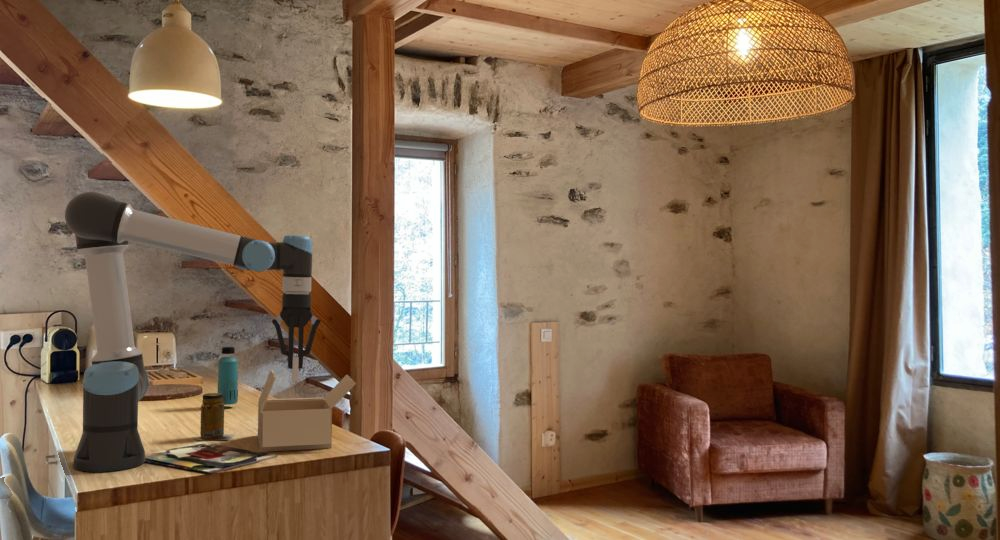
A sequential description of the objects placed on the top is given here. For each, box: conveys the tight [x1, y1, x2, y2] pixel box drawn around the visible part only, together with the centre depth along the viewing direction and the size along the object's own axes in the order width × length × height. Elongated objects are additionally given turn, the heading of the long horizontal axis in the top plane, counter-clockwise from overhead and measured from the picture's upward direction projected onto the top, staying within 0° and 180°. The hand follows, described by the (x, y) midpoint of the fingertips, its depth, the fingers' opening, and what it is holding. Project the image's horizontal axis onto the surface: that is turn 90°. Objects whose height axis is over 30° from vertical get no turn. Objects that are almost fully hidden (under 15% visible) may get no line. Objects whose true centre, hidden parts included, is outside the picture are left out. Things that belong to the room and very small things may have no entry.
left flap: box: [258, 368, 276, 411], centre depth 207 cm, size 1×15×9 cm, turn 19°
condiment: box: [195, 392, 234, 442], centre depth 214 cm, size 7×8×12 cm
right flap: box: [323, 374, 357, 410], centre depth 214 cm, size 1×15×9 cm
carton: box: [257, 398, 333, 453], centre depth 210 cm, size 18×16×10 cm
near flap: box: [262, 409, 331, 447], centre depth 200 cm, size 17×1×9 cm, turn 109°
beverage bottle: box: [217, 346, 239, 406], centre depth 257 cm, size 6×7×20 cm
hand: (294, 380), depth 210 cm, fingers closed
